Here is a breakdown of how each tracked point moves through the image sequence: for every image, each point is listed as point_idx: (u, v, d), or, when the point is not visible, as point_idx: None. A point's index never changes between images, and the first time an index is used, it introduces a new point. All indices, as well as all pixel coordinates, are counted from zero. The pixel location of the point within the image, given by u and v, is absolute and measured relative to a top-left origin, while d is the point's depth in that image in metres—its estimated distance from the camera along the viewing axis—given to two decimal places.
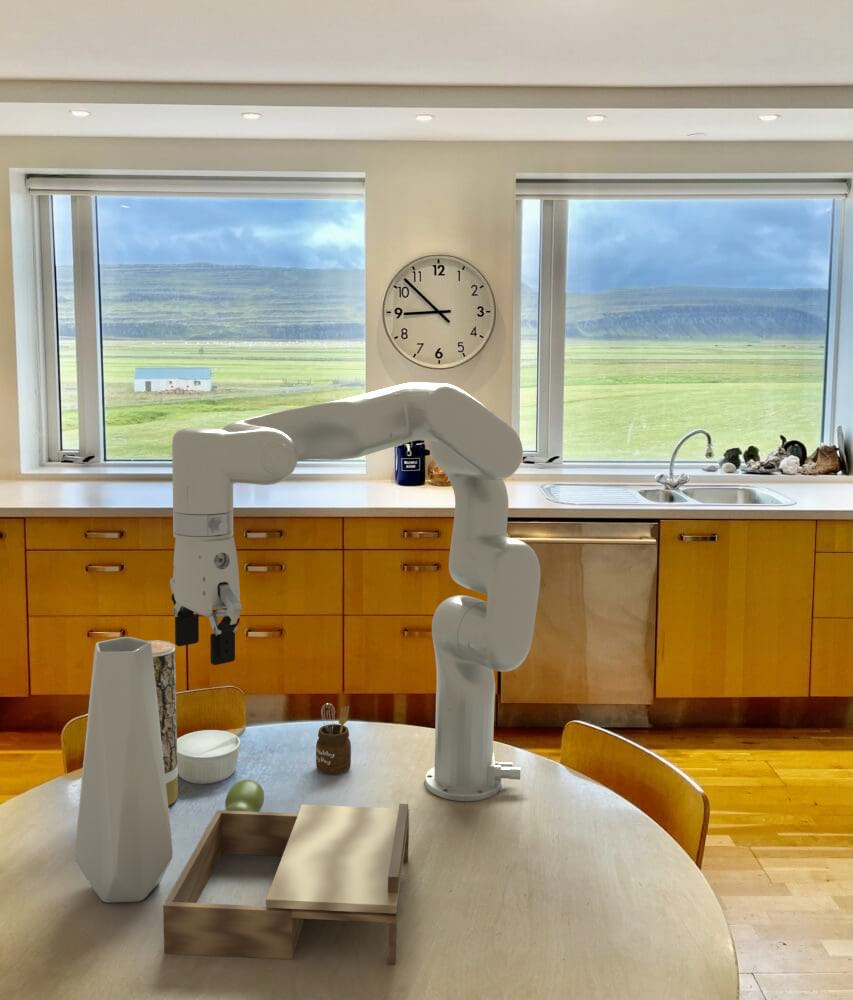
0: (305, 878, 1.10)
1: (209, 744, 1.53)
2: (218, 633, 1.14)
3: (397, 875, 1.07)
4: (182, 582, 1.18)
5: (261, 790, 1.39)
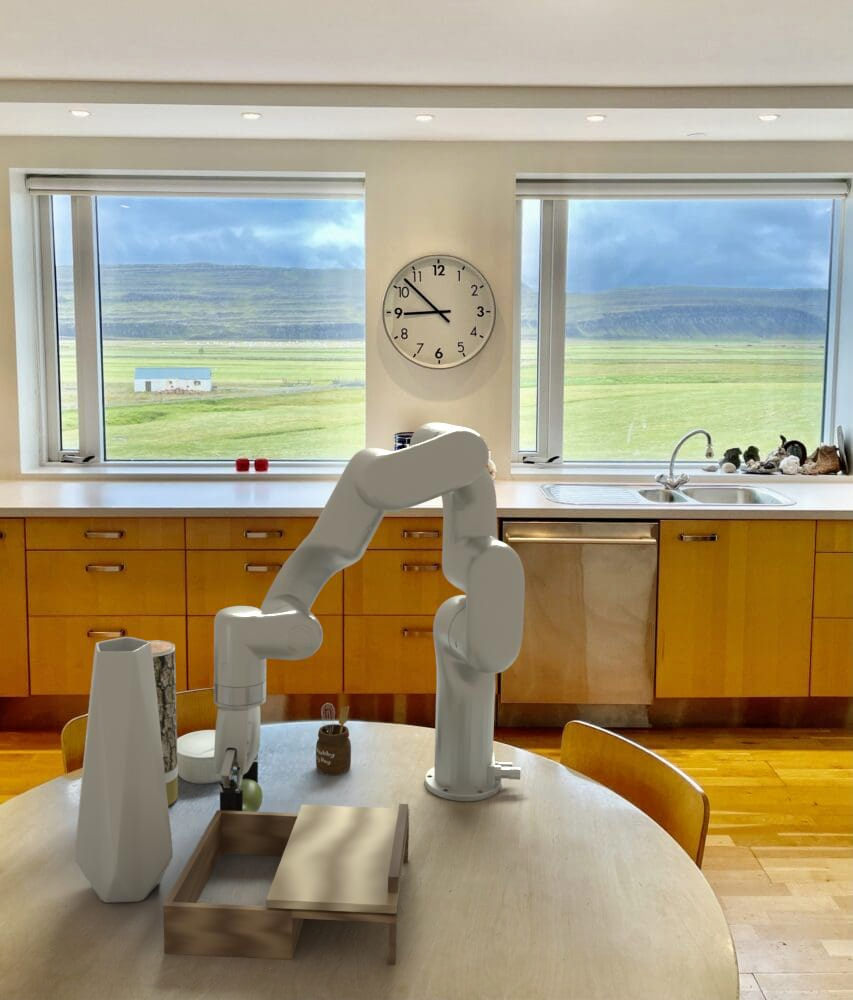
0: (305, 878, 1.10)
1: (209, 744, 1.53)
2: (256, 756, 1.42)
3: (397, 875, 1.07)
4: (253, 744, 1.34)
5: (259, 789, 1.38)
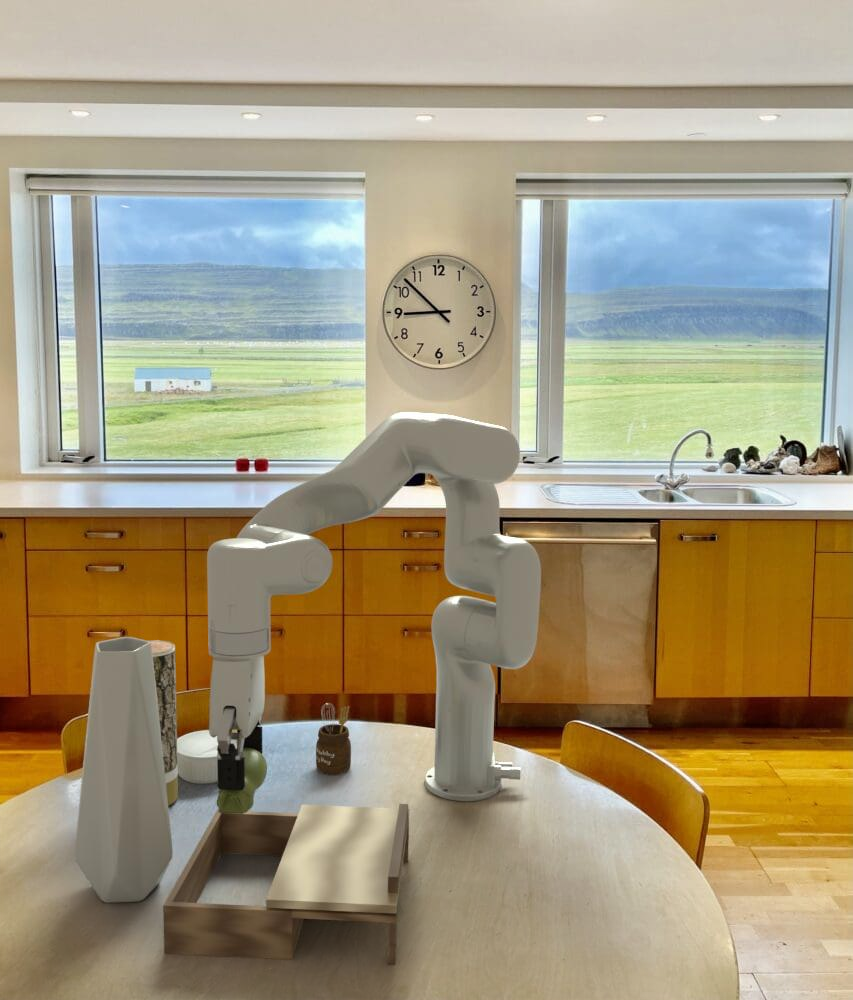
0: (305, 878, 1.10)
1: (209, 744, 1.53)
2: (260, 721, 1.21)
3: (397, 875, 1.07)
4: (257, 702, 1.13)
5: (263, 761, 1.17)
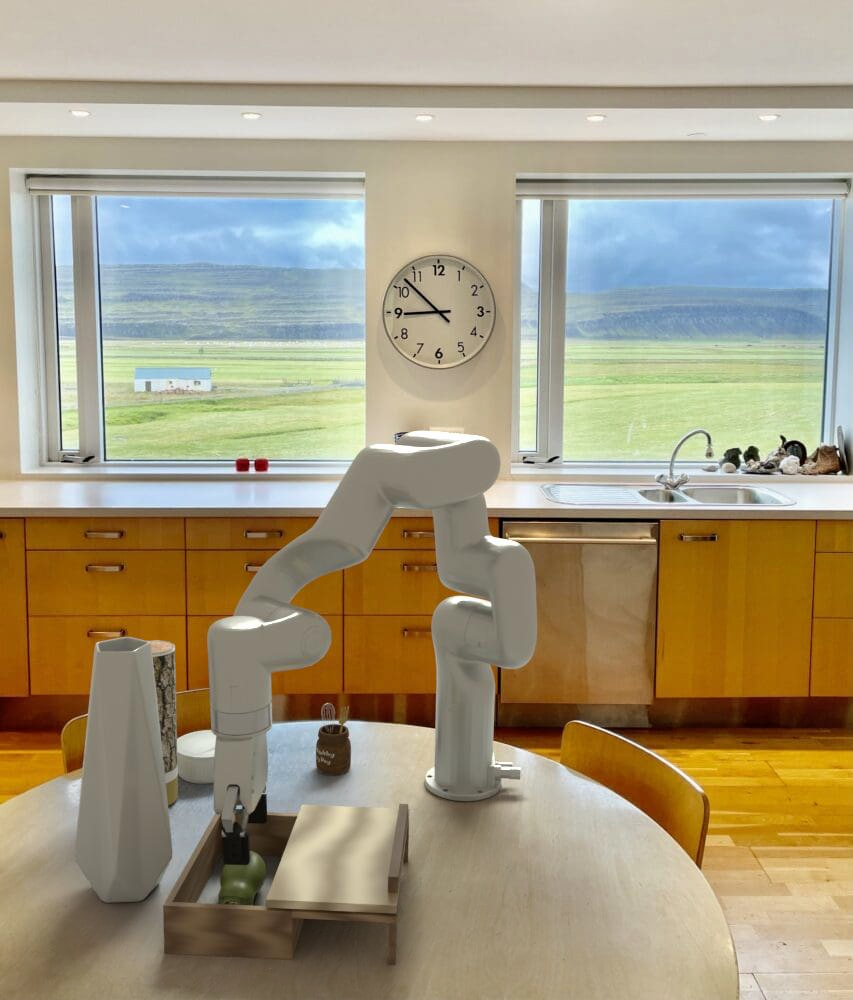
0: (305, 878, 1.10)
1: (209, 744, 1.53)
2: (265, 788, 1.23)
3: (397, 875, 1.07)
4: (260, 777, 1.14)
5: (262, 864, 1.19)
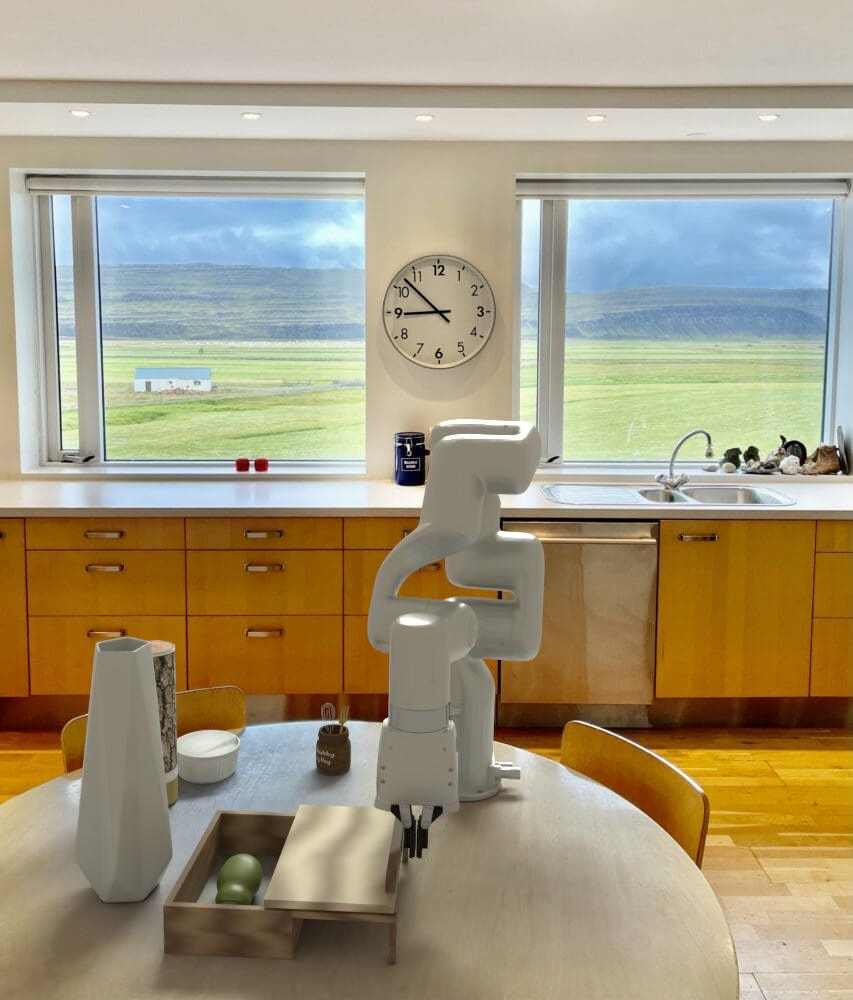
0: (303, 878, 1.10)
1: (209, 744, 1.53)
2: (429, 826, 1.14)
3: (395, 875, 1.07)
4: (406, 780, 1.12)
5: (259, 867, 1.18)
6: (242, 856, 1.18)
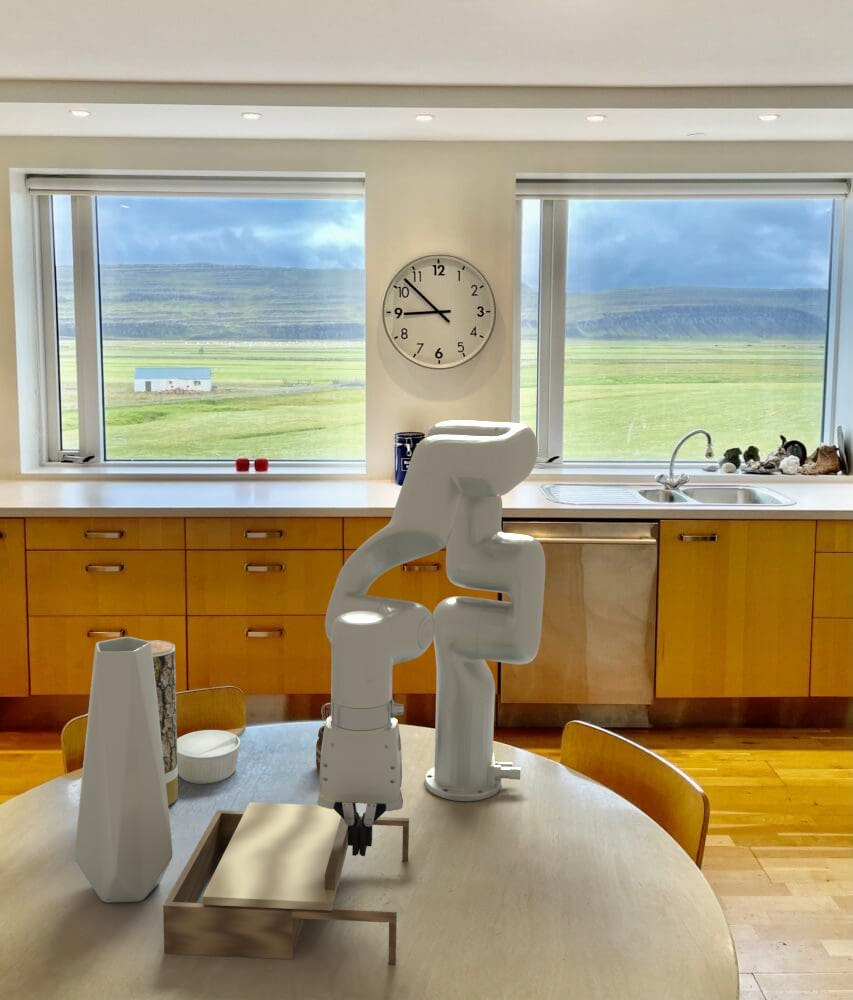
0: (244, 875, 1.10)
1: (209, 744, 1.53)
2: (372, 823, 1.14)
3: (334, 872, 1.07)
4: (348, 777, 1.12)
5: None
6: None
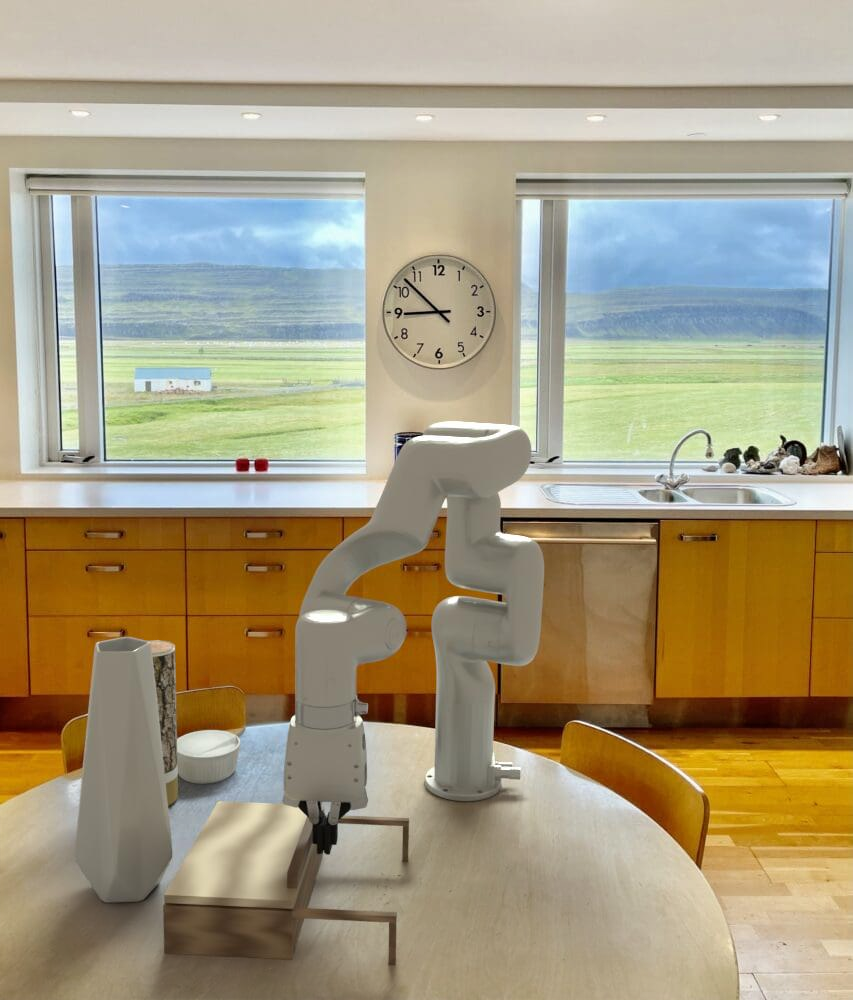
0: (207, 874, 1.10)
1: (209, 744, 1.53)
2: (337, 822, 1.14)
3: (296, 871, 1.08)
4: (312, 776, 1.12)
5: None
6: None
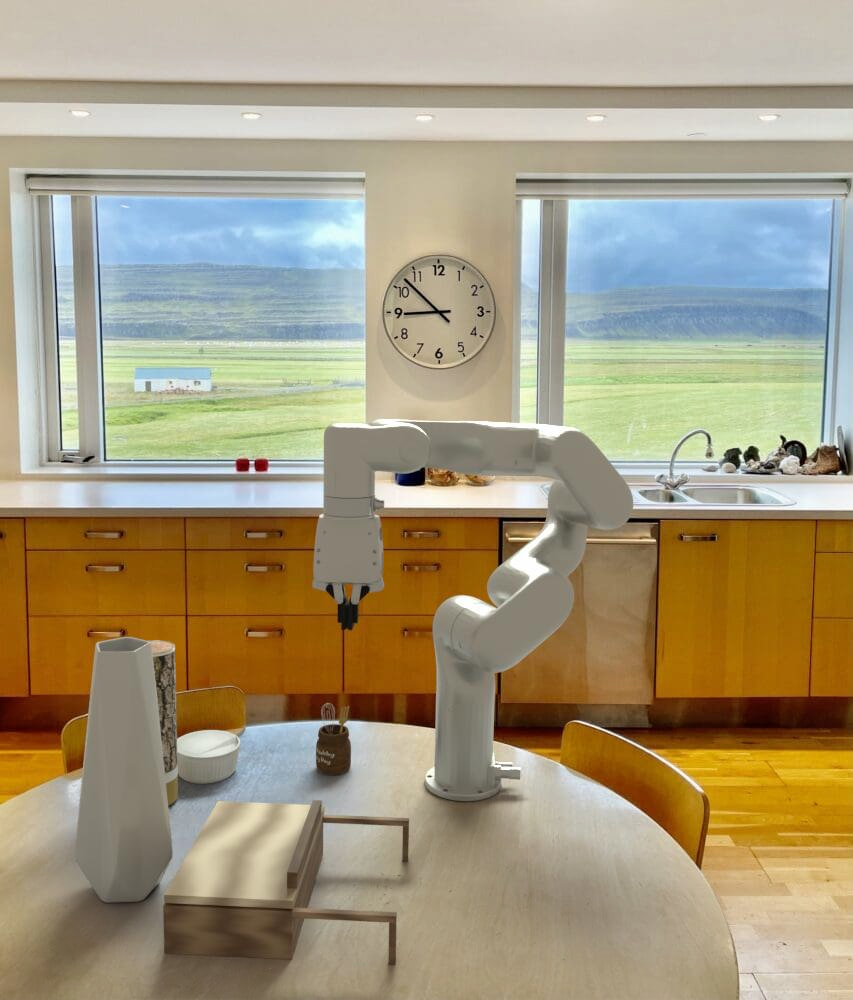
0: (207, 874, 1.10)
1: (209, 744, 1.53)
2: (358, 602, 1.36)
3: (296, 871, 1.08)
4: (338, 560, 1.34)
5: None
6: None
